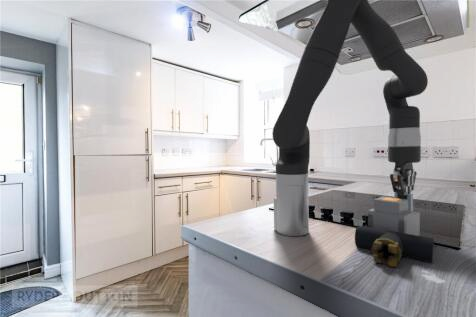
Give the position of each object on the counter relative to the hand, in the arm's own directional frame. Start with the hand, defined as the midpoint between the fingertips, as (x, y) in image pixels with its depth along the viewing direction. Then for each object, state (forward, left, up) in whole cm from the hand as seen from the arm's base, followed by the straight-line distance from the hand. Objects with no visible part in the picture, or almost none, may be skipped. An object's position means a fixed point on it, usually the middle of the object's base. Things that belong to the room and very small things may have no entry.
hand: (403, 207), depth 70 cm
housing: (0, -7, -8) cm, 10 cm away
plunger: (0, -9, +1) cm, 9 cm away
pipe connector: (+3, -19, -8) cm, 21 cm away
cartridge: (0, -5, -7) cm, 8 cm away
